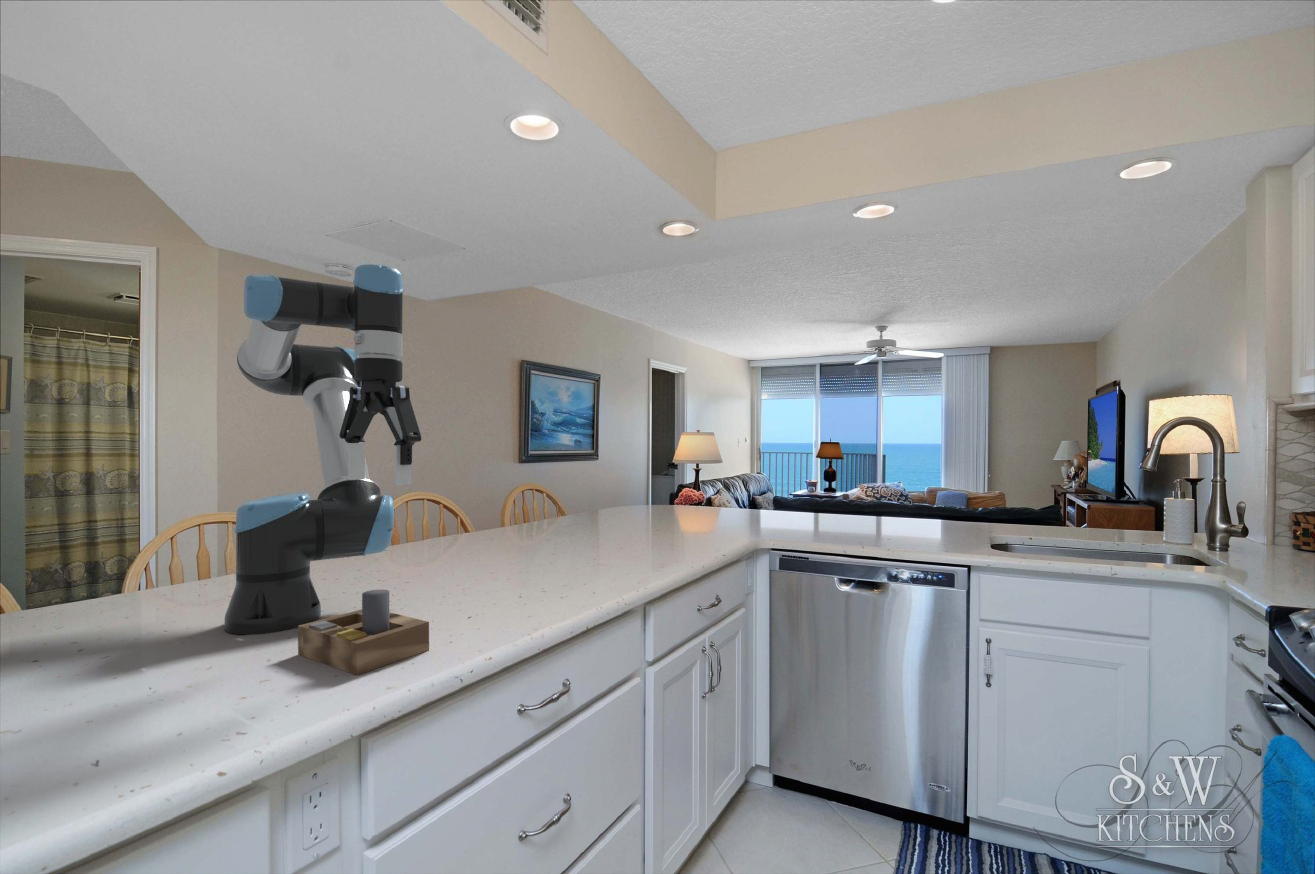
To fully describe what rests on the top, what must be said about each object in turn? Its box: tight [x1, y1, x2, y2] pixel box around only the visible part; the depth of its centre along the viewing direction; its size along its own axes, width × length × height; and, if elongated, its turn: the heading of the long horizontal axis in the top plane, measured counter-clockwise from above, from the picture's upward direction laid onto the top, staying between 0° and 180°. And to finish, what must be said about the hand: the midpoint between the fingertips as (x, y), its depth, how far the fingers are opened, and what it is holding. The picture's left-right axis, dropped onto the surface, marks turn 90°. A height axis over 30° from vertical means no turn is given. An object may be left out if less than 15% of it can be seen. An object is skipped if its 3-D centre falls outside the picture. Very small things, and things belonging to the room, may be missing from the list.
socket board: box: [297, 608, 430, 676], centre depth 97 cm, size 16×12×5 cm
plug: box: [361, 589, 390, 635], centre depth 94 cm, size 4×4×10 cm
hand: (378, 482), depth 105 cm, fingers open, 13 cm apart
